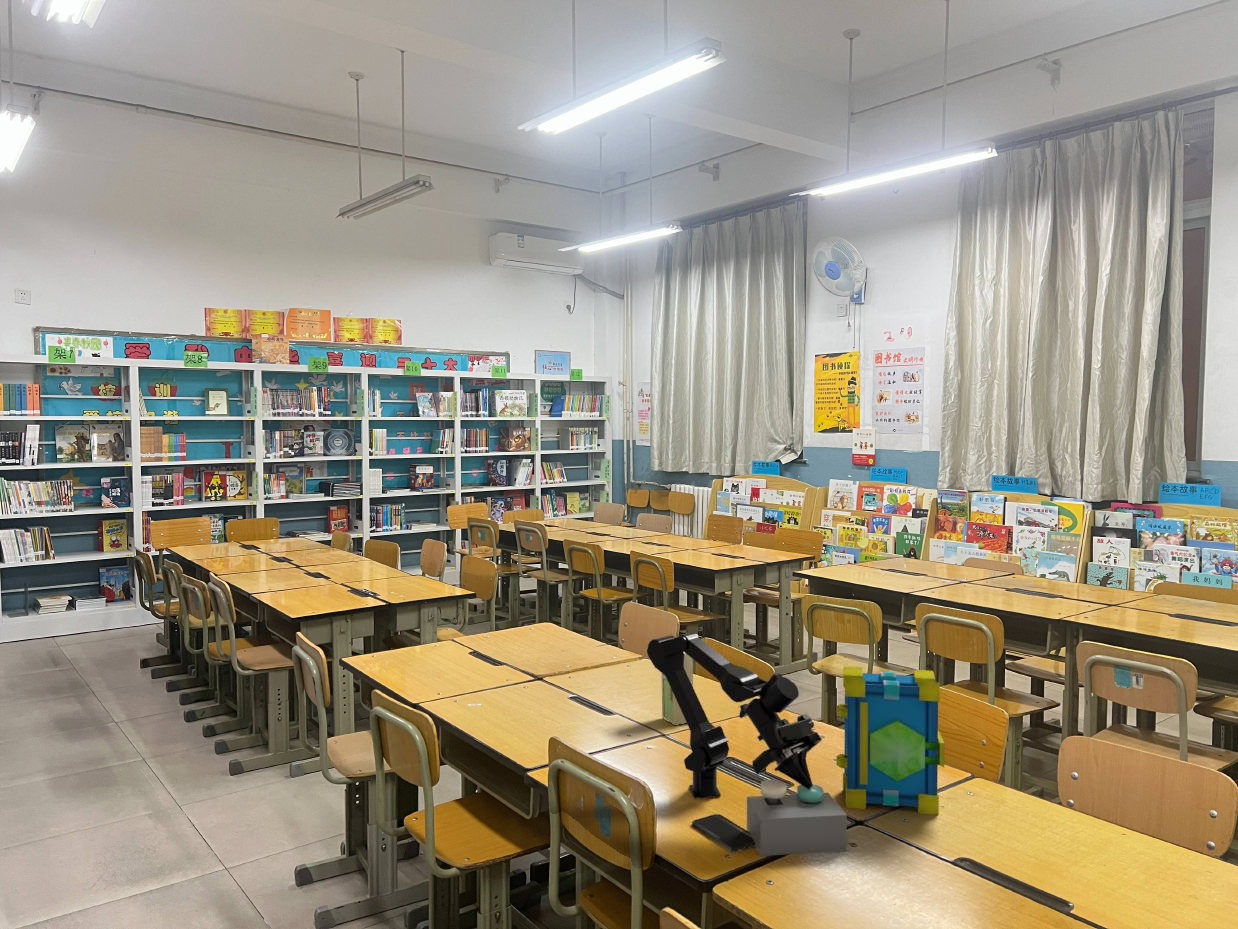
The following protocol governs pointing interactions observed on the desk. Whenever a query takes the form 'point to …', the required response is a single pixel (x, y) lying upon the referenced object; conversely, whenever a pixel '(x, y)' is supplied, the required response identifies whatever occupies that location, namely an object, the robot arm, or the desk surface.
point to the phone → (724, 832)
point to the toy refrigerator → (669, 701)
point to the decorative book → (891, 739)
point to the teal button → (810, 794)
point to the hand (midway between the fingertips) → (810, 787)
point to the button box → (796, 825)
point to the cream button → (773, 790)
